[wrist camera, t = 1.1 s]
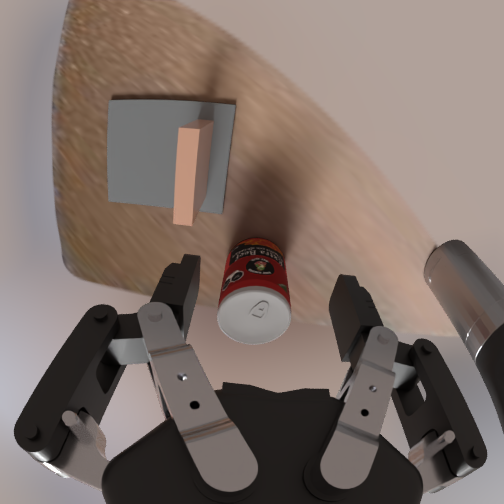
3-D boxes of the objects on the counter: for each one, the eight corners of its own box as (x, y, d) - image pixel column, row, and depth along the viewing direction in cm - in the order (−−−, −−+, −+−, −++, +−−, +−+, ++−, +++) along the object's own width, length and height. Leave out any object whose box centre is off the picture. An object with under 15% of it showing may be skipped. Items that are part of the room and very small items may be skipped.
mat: (236, 104, 29) (235, 105, 28) (222, 212, 35) (221, 214, 35) (111, 100, 28) (108, 100, 28) (110, 199, 35) (108, 201, 34)
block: (214, 120, 29) (199, 129, 22) (206, 196, 34) (192, 226, 27) (197, 119, 29) (178, 127, 22) (191, 194, 34) (173, 223, 27)
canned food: (290, 240, 37) (300, 295, 28) (277, 289, 41) (281, 349, 32) (230, 231, 37) (220, 284, 27) (223, 281, 41) (213, 340, 31)
